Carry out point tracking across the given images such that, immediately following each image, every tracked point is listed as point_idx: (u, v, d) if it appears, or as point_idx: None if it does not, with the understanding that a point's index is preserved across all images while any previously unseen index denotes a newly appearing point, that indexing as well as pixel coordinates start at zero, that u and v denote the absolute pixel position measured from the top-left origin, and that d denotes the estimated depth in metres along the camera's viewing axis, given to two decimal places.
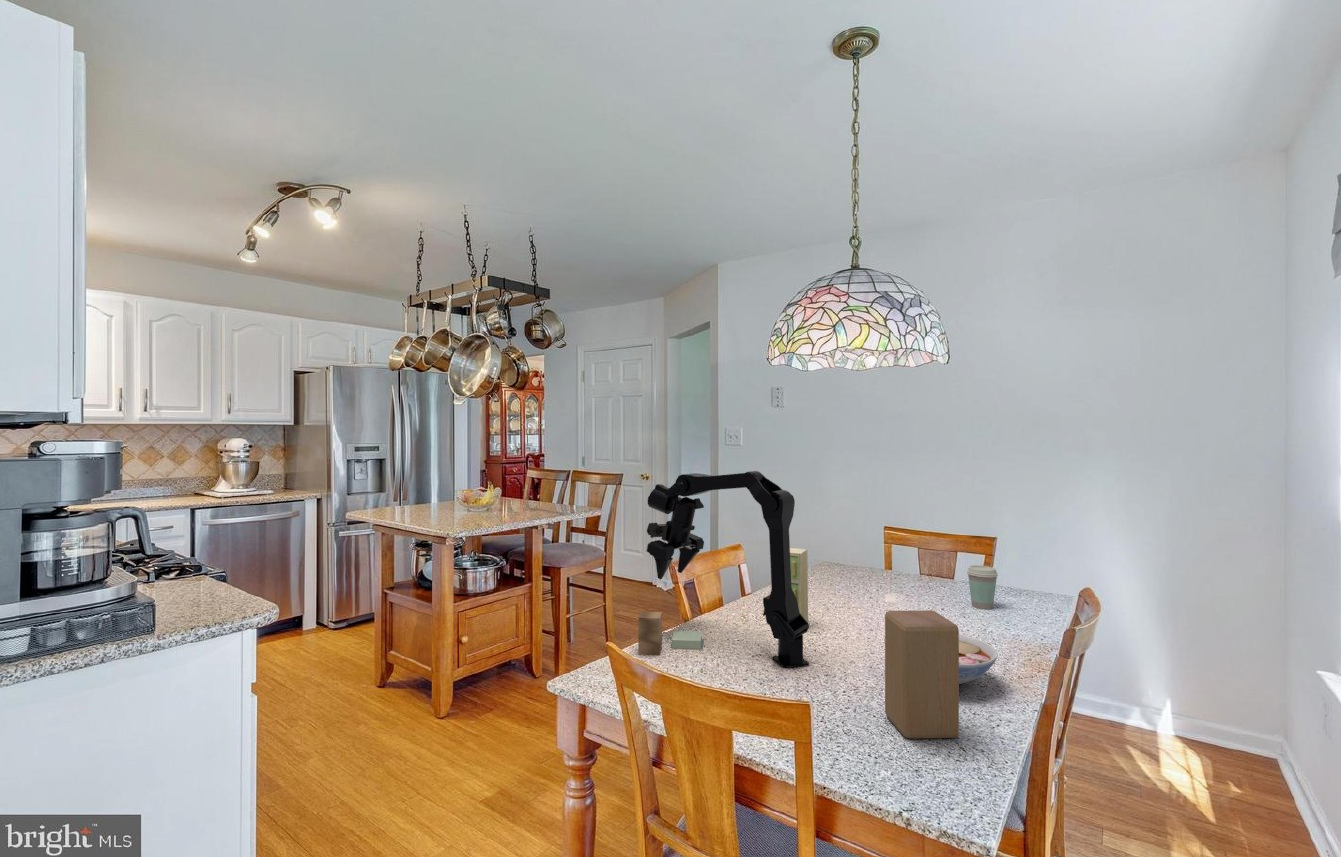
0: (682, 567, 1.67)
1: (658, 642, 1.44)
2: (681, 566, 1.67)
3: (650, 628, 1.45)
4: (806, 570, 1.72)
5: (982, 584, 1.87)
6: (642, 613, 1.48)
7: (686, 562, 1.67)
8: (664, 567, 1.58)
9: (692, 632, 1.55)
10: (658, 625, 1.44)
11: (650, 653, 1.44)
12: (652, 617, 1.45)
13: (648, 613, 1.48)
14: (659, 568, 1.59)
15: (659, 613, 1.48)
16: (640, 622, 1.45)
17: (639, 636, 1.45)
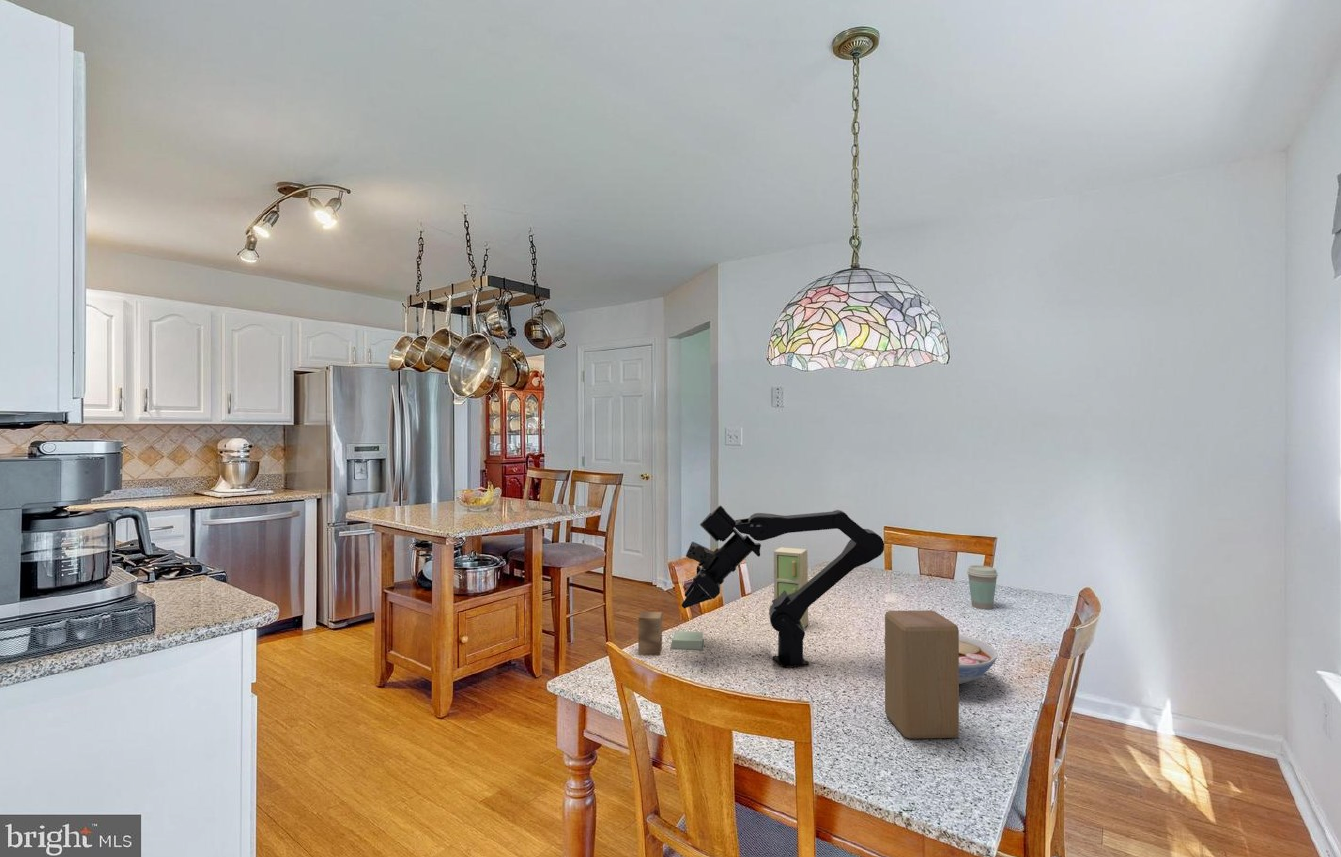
0: None
1: (658, 642, 1.44)
2: None
3: (650, 629, 1.45)
4: (806, 570, 1.72)
5: (982, 584, 1.87)
6: (642, 613, 1.48)
7: None
8: (699, 601, 1.40)
9: (693, 632, 1.55)
10: (658, 625, 1.44)
11: (650, 653, 1.44)
12: (652, 617, 1.45)
13: (648, 613, 1.48)
14: (691, 598, 1.41)
15: (659, 613, 1.48)
16: (640, 622, 1.45)
17: (639, 636, 1.45)
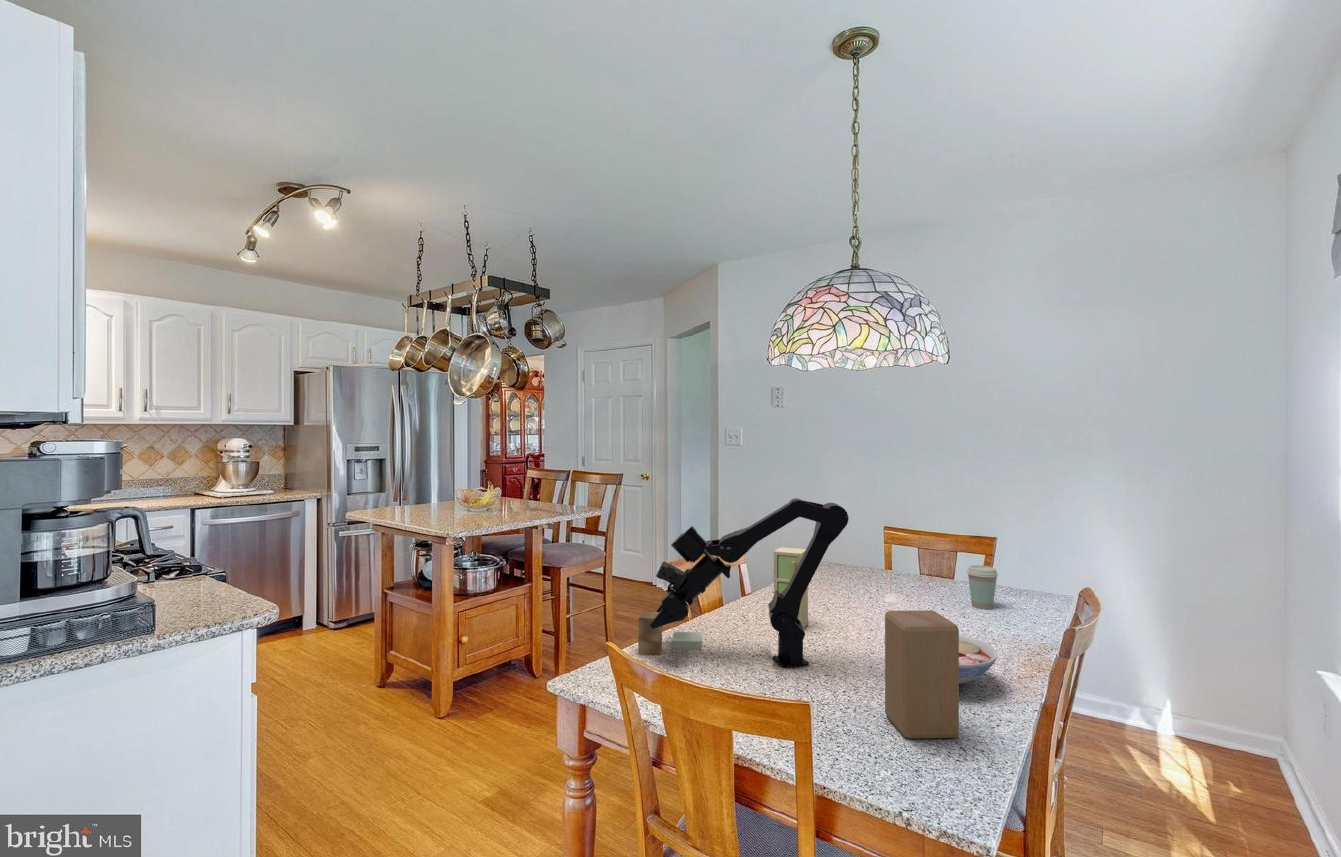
0: None
1: (658, 642, 1.44)
2: None
3: (650, 628, 1.45)
4: None
5: (982, 584, 1.87)
6: (642, 613, 1.48)
7: None
8: (668, 622, 1.41)
9: (692, 633, 1.54)
10: None
11: (650, 653, 1.44)
12: (652, 617, 1.45)
13: (648, 613, 1.48)
14: (660, 619, 1.41)
15: None
16: (640, 622, 1.45)
17: (639, 636, 1.45)
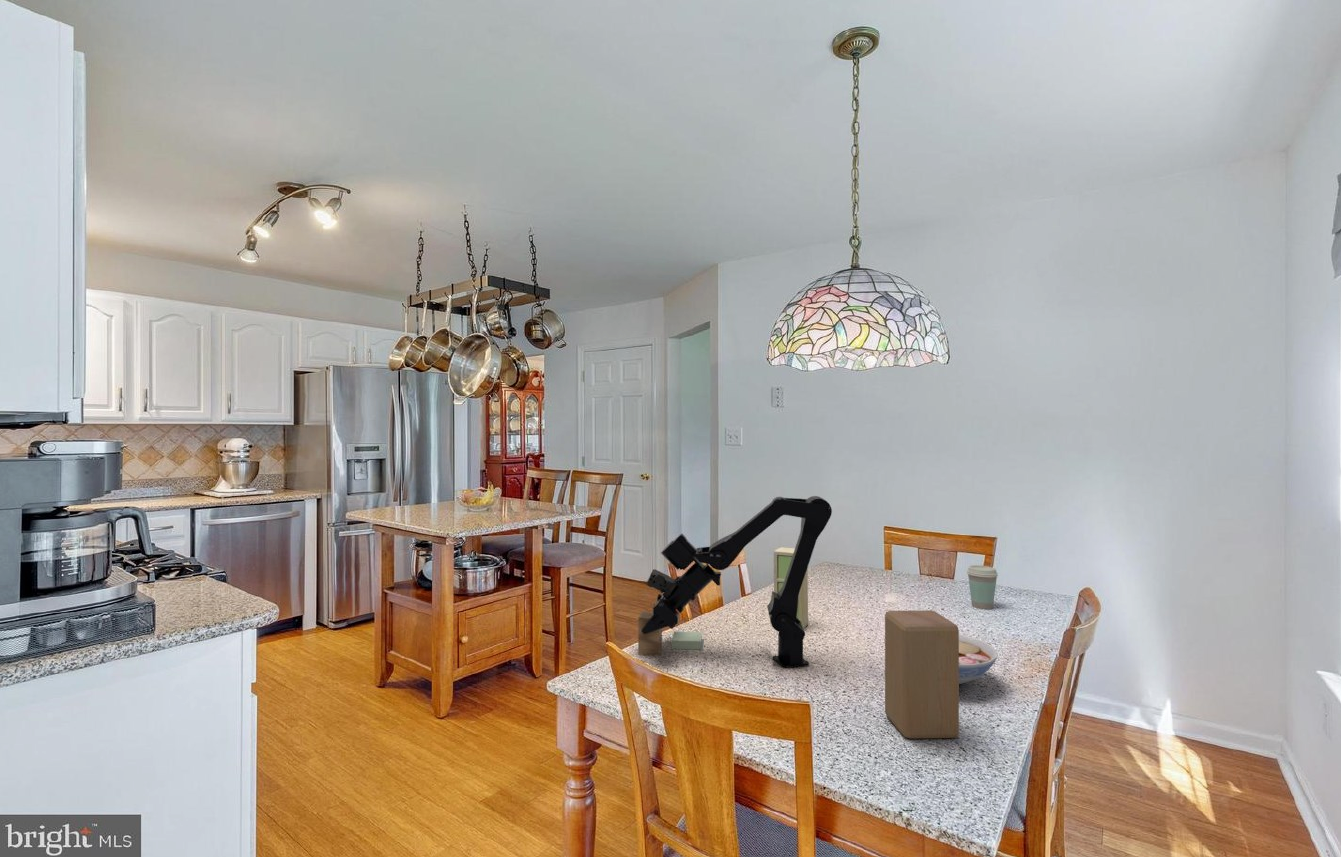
0: None
1: (658, 642, 1.44)
2: None
3: None
4: None
5: (982, 584, 1.87)
6: (642, 613, 1.48)
7: None
8: (659, 627, 1.43)
9: (692, 632, 1.54)
10: None
11: (650, 653, 1.44)
12: None
13: (648, 613, 1.48)
14: (651, 624, 1.43)
15: None
16: (640, 622, 1.45)
17: (639, 635, 1.45)
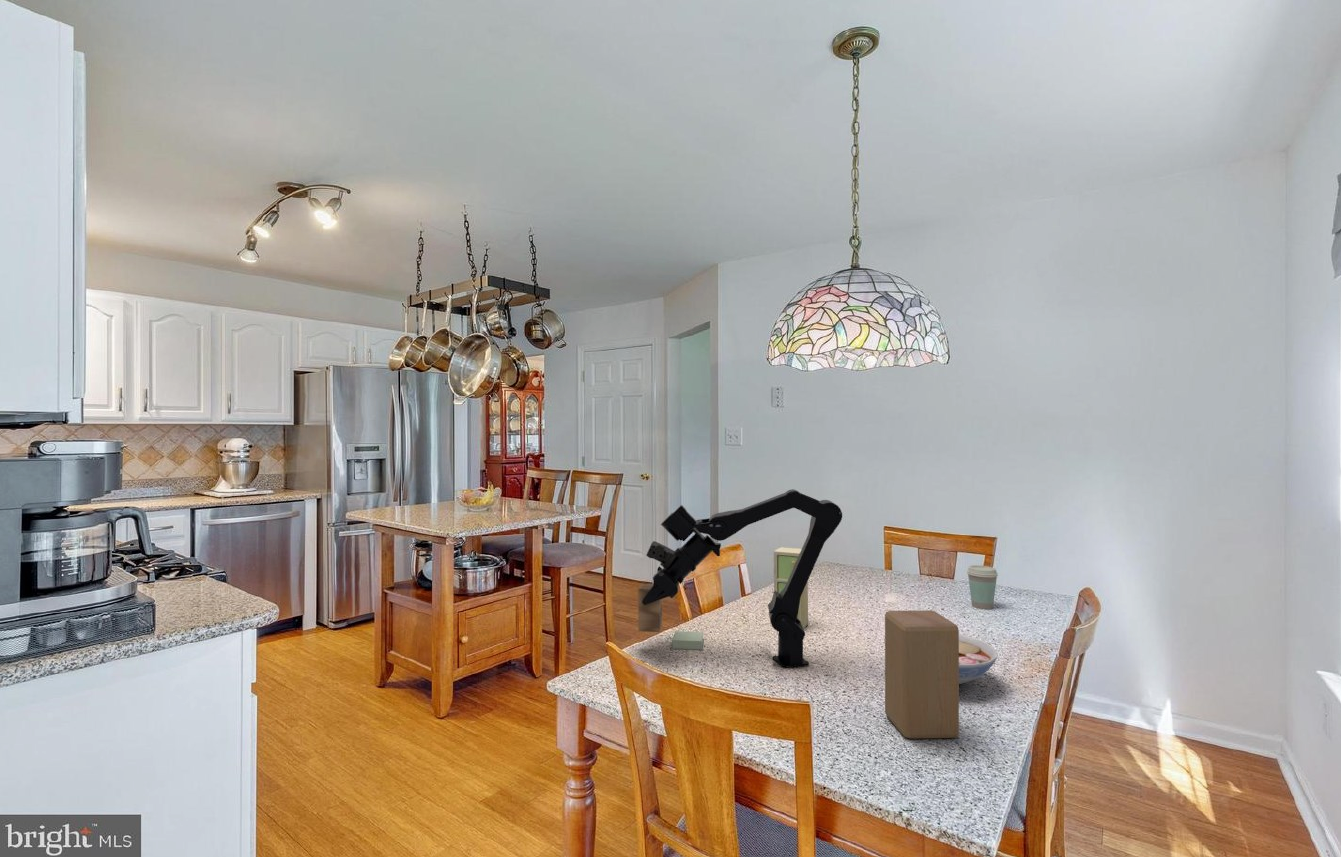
0: None
1: (658, 613, 1.44)
2: None
3: None
4: None
5: (982, 584, 1.87)
6: (642, 585, 1.48)
7: None
8: (659, 598, 1.43)
9: (693, 632, 1.54)
10: None
11: (650, 624, 1.45)
12: None
13: (648, 585, 1.48)
14: (651, 595, 1.43)
15: None
16: (640, 593, 1.45)
17: (639, 607, 1.45)
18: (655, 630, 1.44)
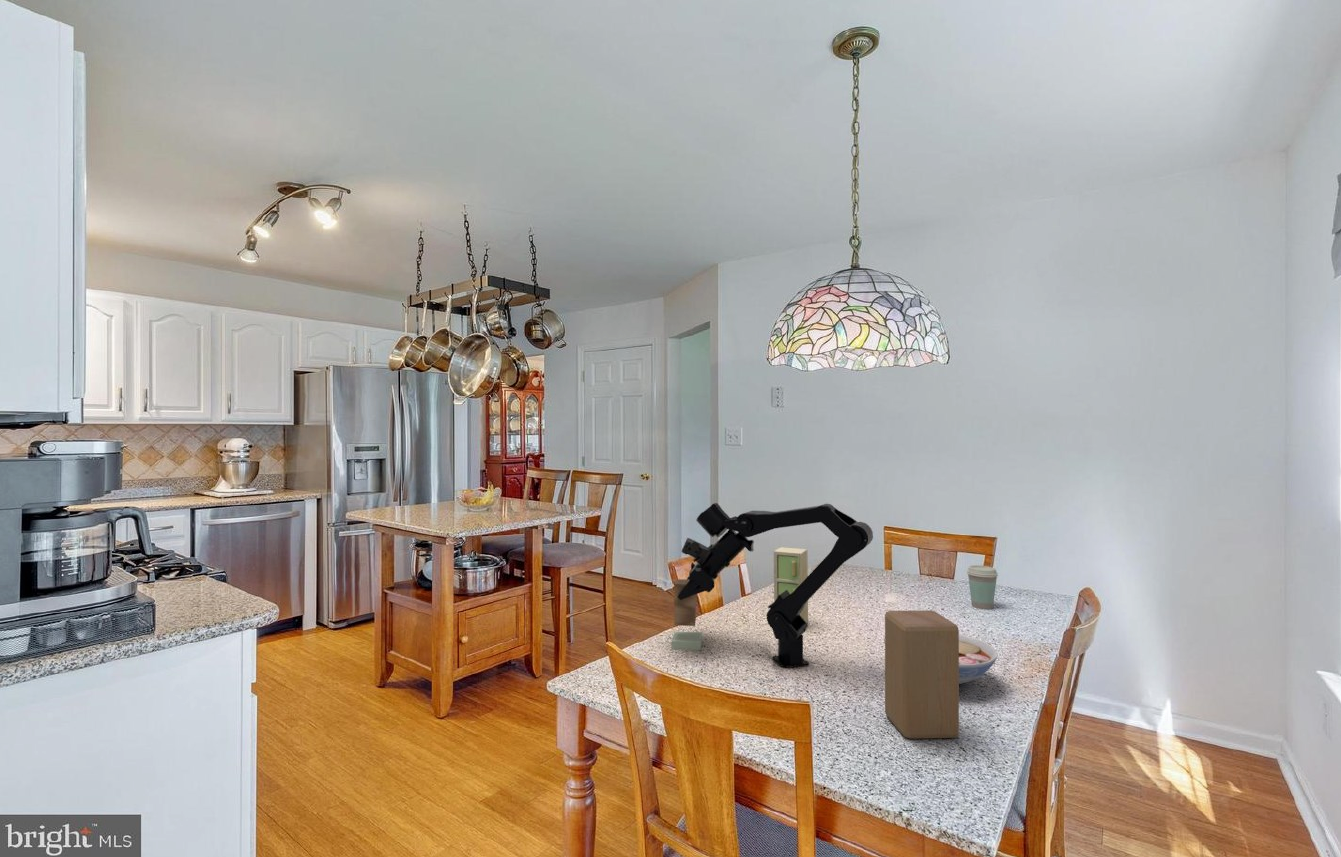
0: None
1: (693, 607, 1.49)
2: None
3: None
4: (806, 570, 1.72)
5: (982, 584, 1.87)
6: (677, 580, 1.53)
7: None
8: (695, 592, 1.47)
9: (692, 633, 1.54)
10: None
11: (686, 618, 1.49)
12: None
13: (682, 580, 1.53)
14: (687, 590, 1.48)
15: None
16: (676, 588, 1.49)
17: (675, 601, 1.49)
18: (690, 624, 1.49)
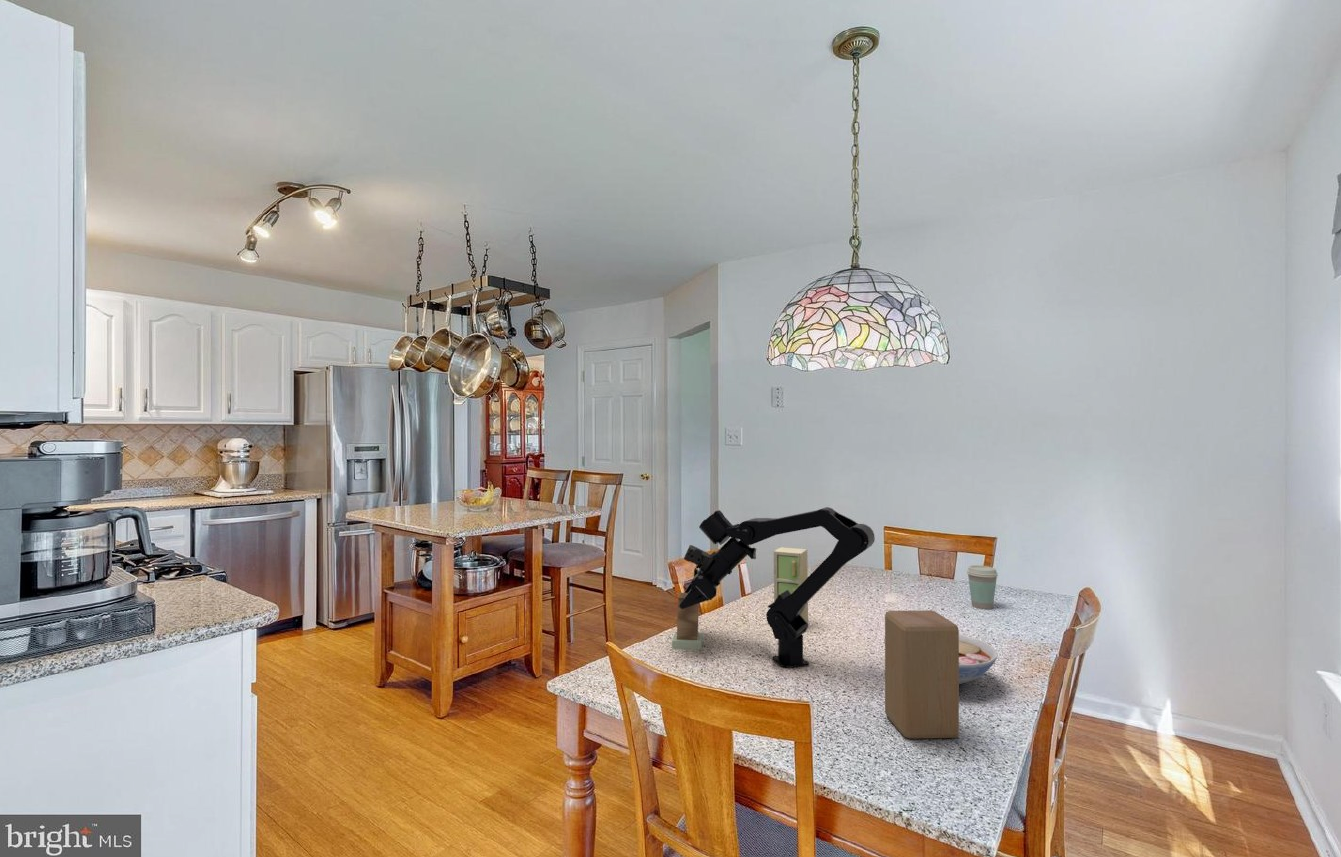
0: None
1: (696, 622, 1.50)
2: None
3: (689, 608, 1.50)
4: (806, 570, 1.72)
5: (982, 584, 1.87)
6: (680, 594, 1.53)
7: None
8: (696, 602, 1.46)
9: None
10: (697, 605, 1.50)
11: (688, 632, 1.50)
12: None
13: (686, 594, 1.54)
14: (689, 599, 1.46)
15: None
16: (679, 602, 1.50)
17: (678, 615, 1.50)
18: (693, 638, 1.50)
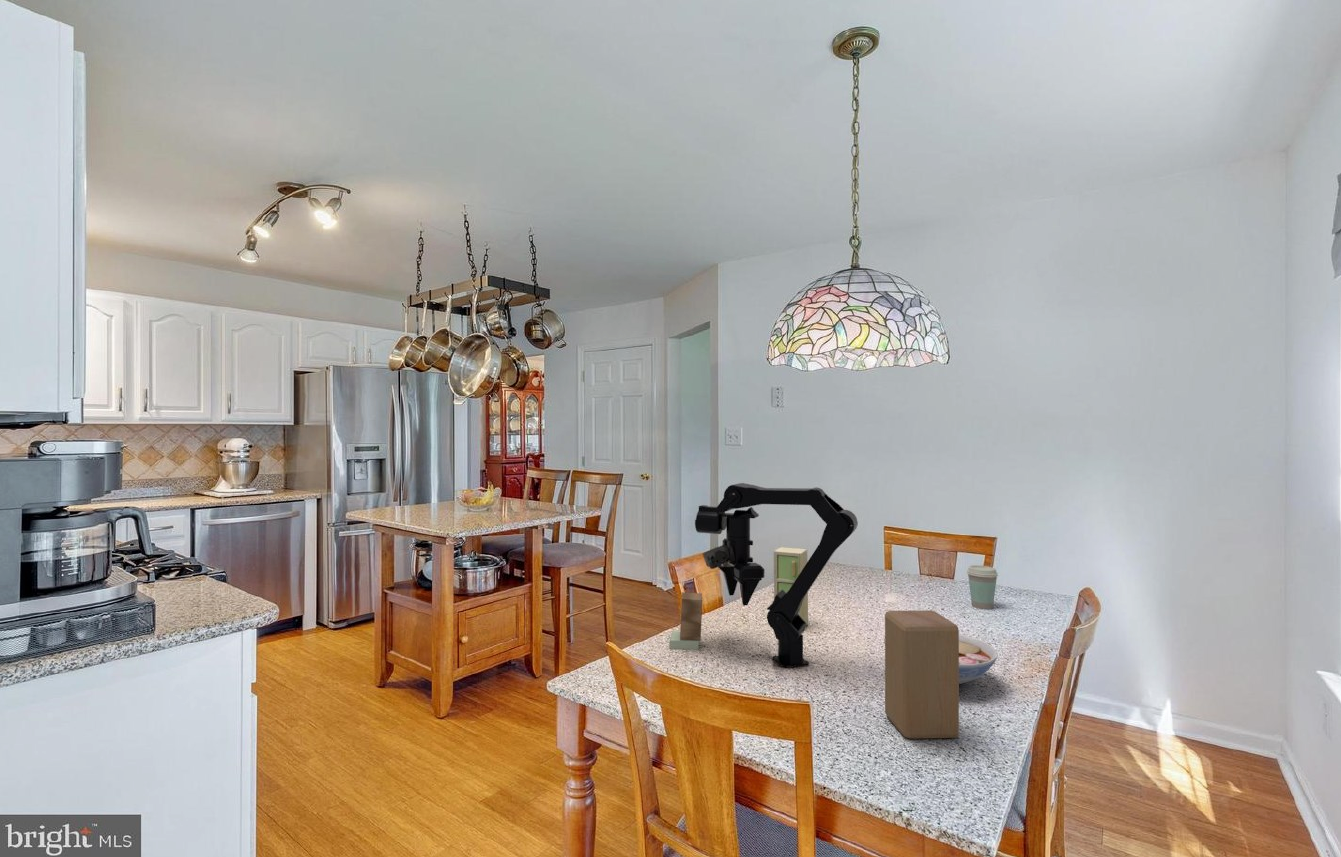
0: (734, 588, 1.54)
1: (700, 622, 1.49)
2: (732, 588, 1.54)
3: (693, 609, 1.48)
4: None
5: (982, 584, 1.87)
6: (683, 594, 1.52)
7: (736, 581, 1.54)
8: (753, 588, 1.44)
9: None
10: (700, 606, 1.48)
11: (692, 633, 1.49)
12: (694, 598, 1.49)
13: (689, 594, 1.52)
14: (746, 593, 1.44)
15: (700, 594, 1.52)
16: (683, 603, 1.48)
17: (681, 616, 1.49)
18: (696, 639, 1.49)
